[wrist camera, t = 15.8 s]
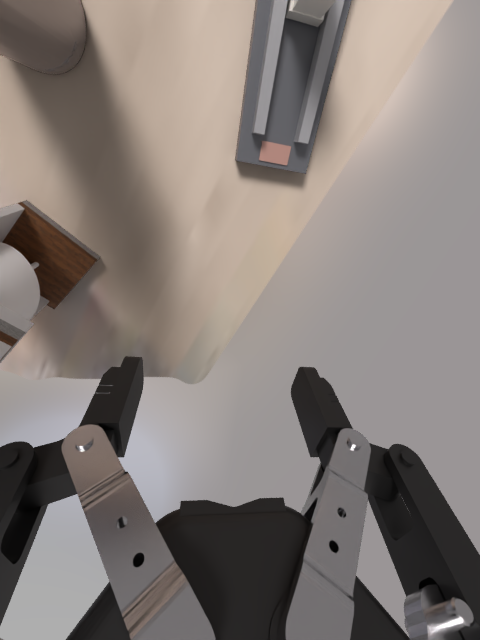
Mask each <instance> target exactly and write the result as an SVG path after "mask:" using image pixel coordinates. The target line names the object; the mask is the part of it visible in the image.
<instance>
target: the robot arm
mask: <svg viewBox="0 0 480 640" xmlns="http://www.w3.org/2000/svg"><path fill="white" fill-rule="evenodd" d="M85 42H86V22H85V16H84V11H83V7H82V4H81V1H80V0H0V55H2V56H4V57H7V58H9V59H11V60H13V61H16V62H18V63H20V64H23V65H25V66H27V67H30V68H32V69H34V70H37V71H39V72H43V73H47V74H61V73H65V72H67V71H69V70H70V69H72V68H74V67H75V65H76V64H77V63H78V62H79V60H80V58H81V56H82V54H83V52H84V47H85ZM142 390H143V361H142V357H127V356H126V357H125V358H124V360H123V362H122V365H121V367H111V368H110V369H109V370H108V371H107V372H106V373H105V374H104V375H103V377H102V379H101V381H100V383H99V386H98V388H97V390H96V392H95V394H94V396H93V398H92V400H91V402H90V405H89V407H88V409H87V411H86V413H85V415H84V417H83V420H82V422H81V423H80V425H79V427H78V428H77V429H74V430H73V431H72V432H70V433H69V434H68V435H67V437H66V438H64V439H62V440H60V441H57V442H53V443H50V444H46V445H42V446H38V447H34V448H33V447H32V446H31V445H30V444H29V443H27V442H13V443H9V444H6V445H4V446H2V447H0V625H1V623H2V620H3V617H4V615H5V612H6V610H7V607H8V605H9V602H10V600H11V597H12V595H13V592H14V590H15V587H16V585H17V582H18V579H19V577H20V574H21V572H22V569H23V567H24V564H25V562H26V559H27V557H28V554H29V552H30V549H31V547H32V544H33V541H34V539H35V536H36V534H37V531H38V529H39V526H40V524H41V521H42V518H43V516H44V514H45V511H46V508H47V506H48V504H49V503H52V502H55V501H58V500H61V499H64V498H67V497H70V496H72V495H75V494H78V496H79V499H80V502H81V505H82V508H83V510H84V513H85V516H86V519H87V521H88V524H89V527H90V530H91V532H92V535H93V538H94V540H95V543H96V546H97V549H98V551H99V554H100V556H101V559H102V562H103V565H104V568H105V570H106V573H107V576H108V578H109V581H110V582H109V583H108V584H107V586H106V587H105V588H104V590H103V591H102V592H101V594H100V595H99V596H98V598H97V599H96V600H95V602H94V603H93V604H92V606H91V607H90V608H89V610H88V611H87V612H86V614H85V615H84V616H83V618H82V619H81V620H80V621H79V623H78V624H77V625H76V627H75V628H74V629H73V631H72V632H71V633H70V635H69V636H68V637H67V639H66V640H480V555H479V554H478V552H477V550H476V548H475V547H474V545H473V544H472V542H471V540H470V539H469V537H468V535H467V534H466V532H465V530H464V529H463V527H462V526H461V524H460V523H459V521H458V519H457V517H456V516H455V515H454V513H453V511H452V509H451V508H450V506H449V504H448V503H447V501H446V500H445V498H444V496H443V495H442V493H441V491H440V490H439V488H438V487H437V485H436V483H435V482H434V480H433V479H432V477H431V475H430V474H429V472H428V470H427V469H426V467H425V465H424V464H423V462H422V461H421V459H420V458H419V456H418V455H417V454H416V453H415V452H414V451H412V450H411V449H409V448H408V447H406V446H404V445H401V444H394V445H392V446H391V447H390V448H389V449H385V448H382V447H379V446H376V445H373V444H370V443H369V442H368V441H367V439H366V438H365V437H364V436H363V435H362V434H361V433H359V432H358V431H356V430H354V429H353V428H352V426H351V424H350V422H349V420H348V418H347V416H346V414H345V412H344V410H343V408H342V406H341V404H340V403H339V400H338V398H337V396H335V392H334V390H333V388H332V386H331V385H330V384H329V383H328V382H327V381H326V380H325V379H324V378H320V377H319V375H318V372H317V370H316V369H315V368H312V367H300V368H299V369H298V372H297V374H296V377H295V379H294V382H293V384H292V388H291V397H292V400H293V403H294V407H295V410H296V413H297V416H298V419H299V422H300V425H301V428H302V432H303V435H304V438H305V441H306V444H307V447H308V450H309V453H310V457H319V458H320V461H321V463H320V465H319V467H318V470H317V473H316V475H315V478H314V481H313V484H312V487H311V489H310V492H309V495H308V498H307V500H306V503H305V505H304V507H303V509H302V511H301V513H299V512H297V511H296V510H294V509H292V508H289V507H287V506H285V503H284V499H283V498H262V499H261V498H260V499H257V500H254V501H251V502H248V503H245V504H243V505H240V506H237V507H230V506H227V505H223V504H219V503H216V502H212V501H208V500H198V501H181V506H180V509H178V510H175V511H173V512H171V513H169V514H167V515H166V516H164V517H163V518H161V519H160V520H159V521H157V522H156V523H155V522H154V520H153V518H152V516H151V514H150V512H149V510H148V509H147V507H146V505H145V503H144V501H143V499H142V497H141V495H140V493H139V491H138V489H137V487H136V486H135V484H134V482H133V480H132V478H131V476H130V475H129V473H128V472H125V470H124V469H123V467H122V465H121V463H120V461H119V459H118V457H124V455H125V451H126V448H127V444H128V440H129V437H130V433H131V430H132V426H133V423H134V419H135V415H136V411H137V408H138V405H139V401H140V398H141V394H142ZM401 496H402V497H401ZM402 498H403V499H402ZM368 500H369V503H370V505H371V508H372V510H373V513H374V516H375V518H376V520H377V523H378V526H379V528H380V531H381V533H382V536H383V538H384V541H385V543H386V546H387V548H388V551H389V554H390V556H391V559H392V561H393V563H394V566H395V569H396V571H397V574H398V576H399V579H400V581H401V584H402V587H403V589H404V592H405V594H406V599H405V602H404V613H405V627H406V630H407V632H408V633H409V637H408V636H407V635H406V634H405V632H404V631H403V630H402V629H401V628H400V626H399V625H398V624H397V623H396V622H395V620H394V619H393V618H392V617H391V616H390V615H389V613H388V612H387V611H386V610H385V609H384V608H383V607H382V605H381V604H380V603H379V602H378V601H377V599H376V598H375V597H374V596H373V595H372V594H371V592H370V591H369V590H368V589H367V588H366V587H365V585H364V584H363V583H362V582H361V581H360V580H359V579H358V577H357V576H356V571H357V565H358V557H359V552H360V546H361V540H362V533H363V527H364V521H365V514H366V508H367V502H368ZM403 500H404V501H403ZM404 502H405V503H404ZM405 504H406V505H405ZM406 506H407V507H406ZM407 508H408V509H407ZM408 510H409V511H408ZM0 640H3V639H1V638H0Z"/></svg>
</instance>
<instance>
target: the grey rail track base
mask: <svg viewBox="0 0 480 640" xmlns="http://www.w3.org/2000/svg"><path fill="white" fill-rule="evenodd" d="M287 3H288V0H256V3H255V11H254V18H253V26H252V34H251V41H250V49H249V57H248V64H247V72H246V80H245V87H244V95H243V103H242V110H241V118H240V126H239V133H238V141H237V149H236V157H235V160H236V161H241V162H246V163H252V164H257V165H262V166H267V167H273V168H278V169H283V170H289V171H294V172H299V173H305V174H306V171H307V167H308V163H309V159H310V155H311V152H312V148H313V144H314V140H315V137H316V133H317V129H318V125H319V121H320V118H321V114H322V110H323V106H324V102H325V99H326V95H327V91H328V87H329V83H330V80H331V76H332V72H333V68H334V64H335V61H336V57H337V53H338V49H339V45H340V42H341V38H342V34H343V30H344V26H345V23H346V19H347V15H348V11H349V8H350V4H351V0H336V1H335V2H334V4H333V5H332V6H331V7H330V8H329V9H328V10H327V12H326V13H325V16H324V20H323V22H322V23H321V24H320V25H319V26H318V27H316V26H312V25H309V24H306V23H302V22H299V21H295V20H292V19H288V18H285V15H286V9H287Z"/></svg>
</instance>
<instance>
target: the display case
mask: <svg viewBox="0 0 480 640" xmlns="http://www.w3.org/2000/svg"><path fill="white" fill-rule="evenodd" d="M99 258H100V256H98V255H97V254H96V253H95V252H93V251H92V250H91V249H89V248H88V247H87V246H86V245H84V244H83V243H82V242H80V241H79V240H78V239H76V238H75V237H74V236H73V235H71V234H70V233H69V232H67V231H66V230H65V229H63V228H62V227H61V226H60V225H58V224H57V223H56V222H54V221H53V220H52V219H50V218H49V217H48V216H47V215H45V214H44V213H43V212H41V211H40V210H39V209H38V208H36V207H35V206H34V205H32V204H31V203H30V202H28V201H27V200H26V201H23V202H20V203H16V204H13V205H10V206H6V207H3V208H0V363H1V362H2V361H3V360H4V358H5V357H6V356H7V355H8V354H9V353H10V351H11V350H12V349H13V348H14V347H15V346H16V344H17V343H18V342H19V341H20V340H21V339H22V337H23V336H24V335H25V334H26V333H27V332H28V330H29V329H30V328H31V327H32V326H33V325H34V323H32V322H30V320H31V319H32V318H33V317H34V316H35V315H37V314H38V313H39V312H40V311H41V310H42V309H43V308H44V307H45V306H46V305H48V306H50V307H51V308H53V309H55V308H56V307H57V306H58V305H59V303H60V302H61V301H62V300H63V299H64V298H65V297H66V296H67V294H68V293H69V292H70V291H71V290H72V289H73V288H74V286H75V285H76V284H77V283H78V282H79V281H80V280H81V278H82V277H83V276H84V275H85V274H86V273H87V272H88V270H89V269H90V268H91V267H92V266H93V265H94V264H95V262H96V261H97V260H98V259H99Z"/></svg>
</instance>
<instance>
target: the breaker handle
mask: <svg viewBox="0 0 480 640" xmlns="http://www.w3.org/2000/svg"><path fill="white" fill-rule="evenodd" d="M335 1H336V0H288V3H287V9H286V15H285V18H288V19H292V20H295V21H299V22H302V23H306V24H309V25H312V26H316V27H318V26H319V25H320V24H321V23H322V22H323V20H324V16H325V13H326V12H327V10H328V9H329V8H330V7H331V6H332V5H333V4H334V2H335Z"/></svg>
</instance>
